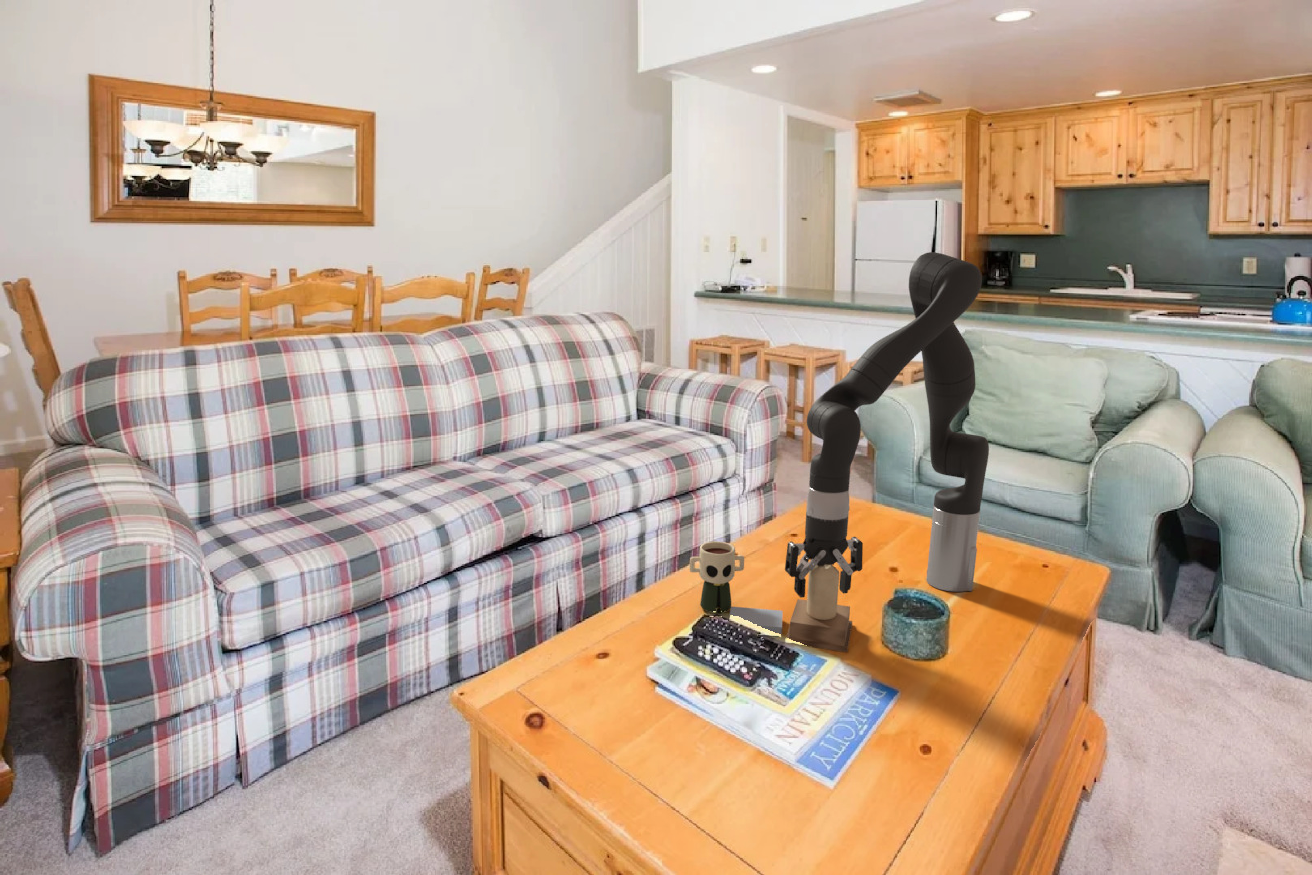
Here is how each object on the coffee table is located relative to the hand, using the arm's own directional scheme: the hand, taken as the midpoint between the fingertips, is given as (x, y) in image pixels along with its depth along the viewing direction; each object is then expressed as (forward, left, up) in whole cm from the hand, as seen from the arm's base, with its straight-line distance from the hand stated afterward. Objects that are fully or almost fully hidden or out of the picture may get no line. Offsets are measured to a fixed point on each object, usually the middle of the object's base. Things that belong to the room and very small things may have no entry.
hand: (822, 593), depth 150 cm
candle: (0, 0, -4) cm, 4 cm away
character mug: (+21, -4, -8) cm, 23 cm away
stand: (0, 0, -8) cm, 8 cm away
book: (+12, +1, -8) cm, 15 cm away
